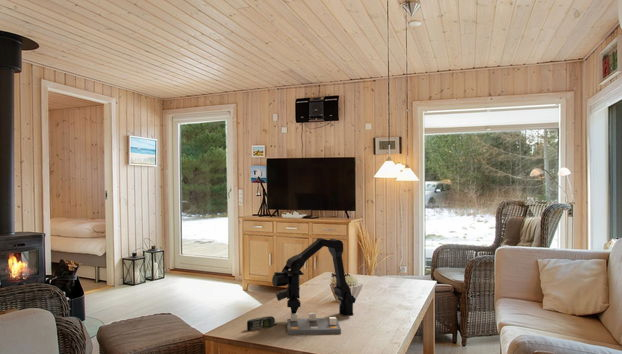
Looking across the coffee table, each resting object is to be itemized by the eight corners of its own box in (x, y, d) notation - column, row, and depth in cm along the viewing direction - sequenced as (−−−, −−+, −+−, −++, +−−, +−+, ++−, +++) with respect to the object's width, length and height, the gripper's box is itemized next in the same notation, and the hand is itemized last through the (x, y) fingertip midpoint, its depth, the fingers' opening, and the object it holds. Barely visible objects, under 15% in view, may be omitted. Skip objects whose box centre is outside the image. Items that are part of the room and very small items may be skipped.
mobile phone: (248, 321, 196) (278, 315, 203) (245, 319, 199) (275, 314, 206) (248, 332, 196) (278, 326, 203) (246, 330, 199) (275, 324, 206)
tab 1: (296, 319, 206) (296, 313, 206) (296, 320, 204) (296, 314, 204) (290, 319, 206) (290, 313, 206) (290, 321, 204) (290, 314, 204)
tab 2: (335, 323, 200) (335, 316, 201) (336, 325, 198) (336, 318, 198) (329, 323, 200) (329, 317, 200) (329, 325, 198) (329, 318, 198)
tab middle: (315, 318, 207) (315, 312, 207) (315, 320, 205) (315, 314, 205) (309, 319, 207) (309, 312, 207) (309, 320, 204) (309, 314, 204)
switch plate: (336, 322, 209) (336, 317, 209) (340, 333, 193) (340, 329, 193) (287, 322, 208) (287, 318, 208) (287, 334, 192) (287, 330, 192)
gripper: (277, 280, 216) (277, 311, 216) (276, 289, 198) (276, 323, 198) (299, 280, 217) (299, 310, 217) (300, 289, 199) (300, 323, 198)
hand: (293, 316), depth 207 cm, fingers closed
